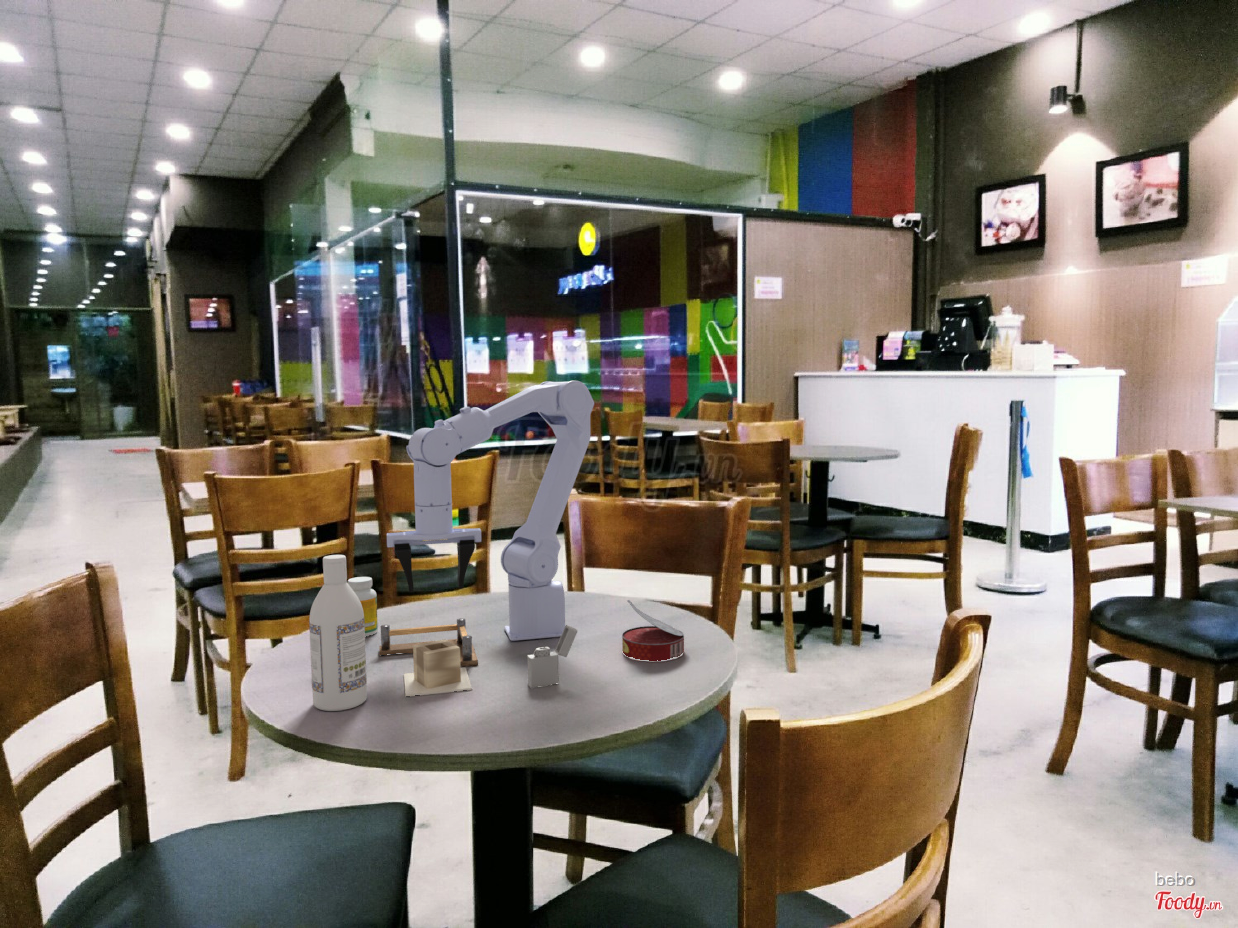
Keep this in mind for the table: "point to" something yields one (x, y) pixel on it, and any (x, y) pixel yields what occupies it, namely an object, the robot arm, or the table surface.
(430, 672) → the hollow wooden cube
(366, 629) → the supplement bottle
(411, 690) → the coaster
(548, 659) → the lighter
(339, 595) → the bath foam
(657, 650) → the canned food
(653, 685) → the table surface
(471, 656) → the wooden rail
